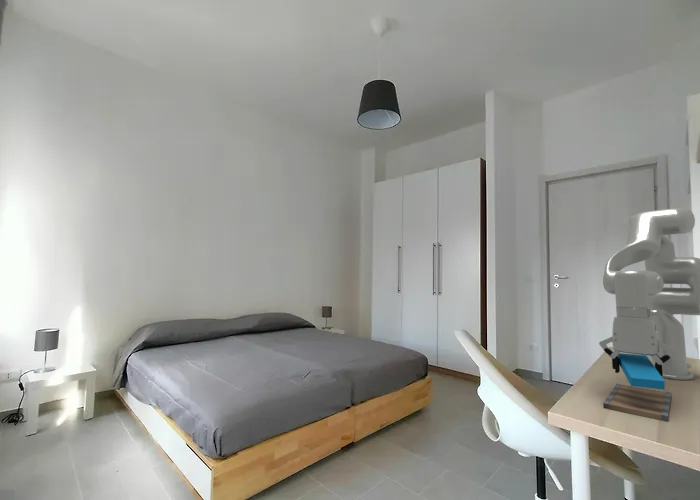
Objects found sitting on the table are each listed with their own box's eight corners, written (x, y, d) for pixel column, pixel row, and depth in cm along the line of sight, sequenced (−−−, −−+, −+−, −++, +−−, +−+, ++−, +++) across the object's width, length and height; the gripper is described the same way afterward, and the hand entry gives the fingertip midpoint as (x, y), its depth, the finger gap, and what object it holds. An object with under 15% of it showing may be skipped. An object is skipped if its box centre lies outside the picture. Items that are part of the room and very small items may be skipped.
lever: (664, 406, 89) (641, 371, 105) (664, 381, 88) (642, 349, 104) (630, 401, 92) (614, 368, 108) (631, 377, 91) (614, 347, 107)
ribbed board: (616, 387, 111) (616, 383, 111) (671, 397, 102) (671, 392, 102) (603, 407, 94) (603, 402, 94) (668, 421, 85) (668, 416, 85)
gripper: (674, 314, 96) (679, 378, 95) (598, 310, 109) (602, 367, 107) (673, 316, 91) (678, 384, 90) (594, 312, 103) (597, 371, 102)
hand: (637, 374), depth 98 cm, fingers closed on lever, 8 cm apart
